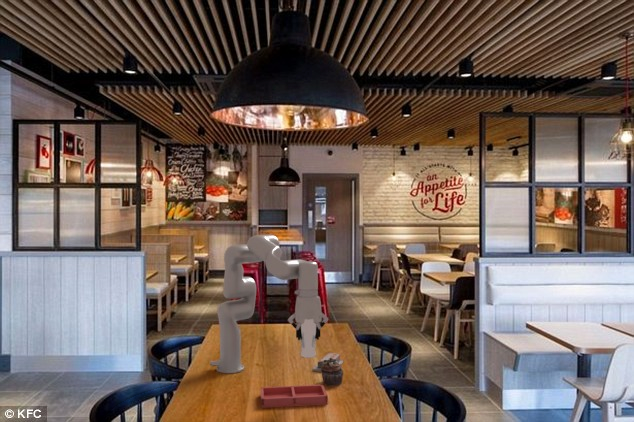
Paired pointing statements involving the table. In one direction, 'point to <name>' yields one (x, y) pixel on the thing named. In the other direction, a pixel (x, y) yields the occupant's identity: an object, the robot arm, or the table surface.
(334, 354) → the packaged product
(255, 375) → the table surface
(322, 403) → the tray
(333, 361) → the cupcake
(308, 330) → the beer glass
